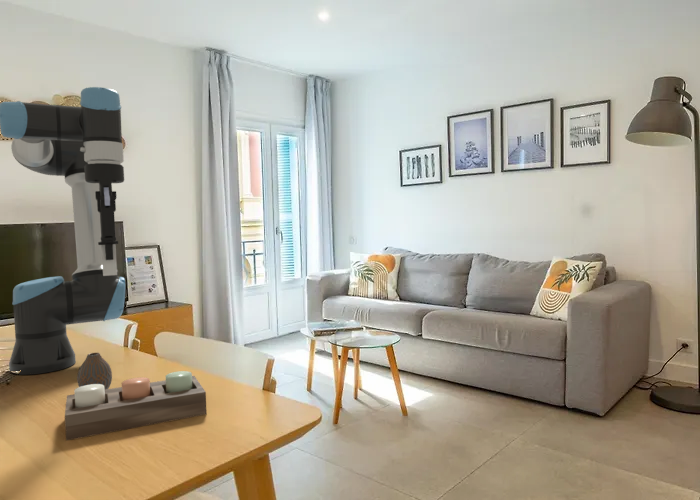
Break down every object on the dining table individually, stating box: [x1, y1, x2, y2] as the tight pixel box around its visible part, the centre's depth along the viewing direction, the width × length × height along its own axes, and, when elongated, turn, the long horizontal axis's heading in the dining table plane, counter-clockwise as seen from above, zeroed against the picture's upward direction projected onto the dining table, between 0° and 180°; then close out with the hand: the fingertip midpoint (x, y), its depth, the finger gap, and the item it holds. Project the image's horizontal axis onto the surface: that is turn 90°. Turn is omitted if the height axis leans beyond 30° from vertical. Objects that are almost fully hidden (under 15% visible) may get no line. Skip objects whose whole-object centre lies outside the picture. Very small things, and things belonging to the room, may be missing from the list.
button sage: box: [165, 370, 193, 393], centre depth 105 cm, size 5×5×4 cm
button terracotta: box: [121, 376, 151, 401], centre depth 101 cm, size 5×5×4 cm
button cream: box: [73, 384, 105, 408], centre depth 98 cm, size 5×5×4 cm
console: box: [64, 375, 208, 441], centre depth 101 cm, size 12×24×4 cm, turn 117°
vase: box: [76, 352, 113, 390], centre depth 116 cm, size 7×7×9 cm
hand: (110, 275), depth 112 cm, fingers closed
